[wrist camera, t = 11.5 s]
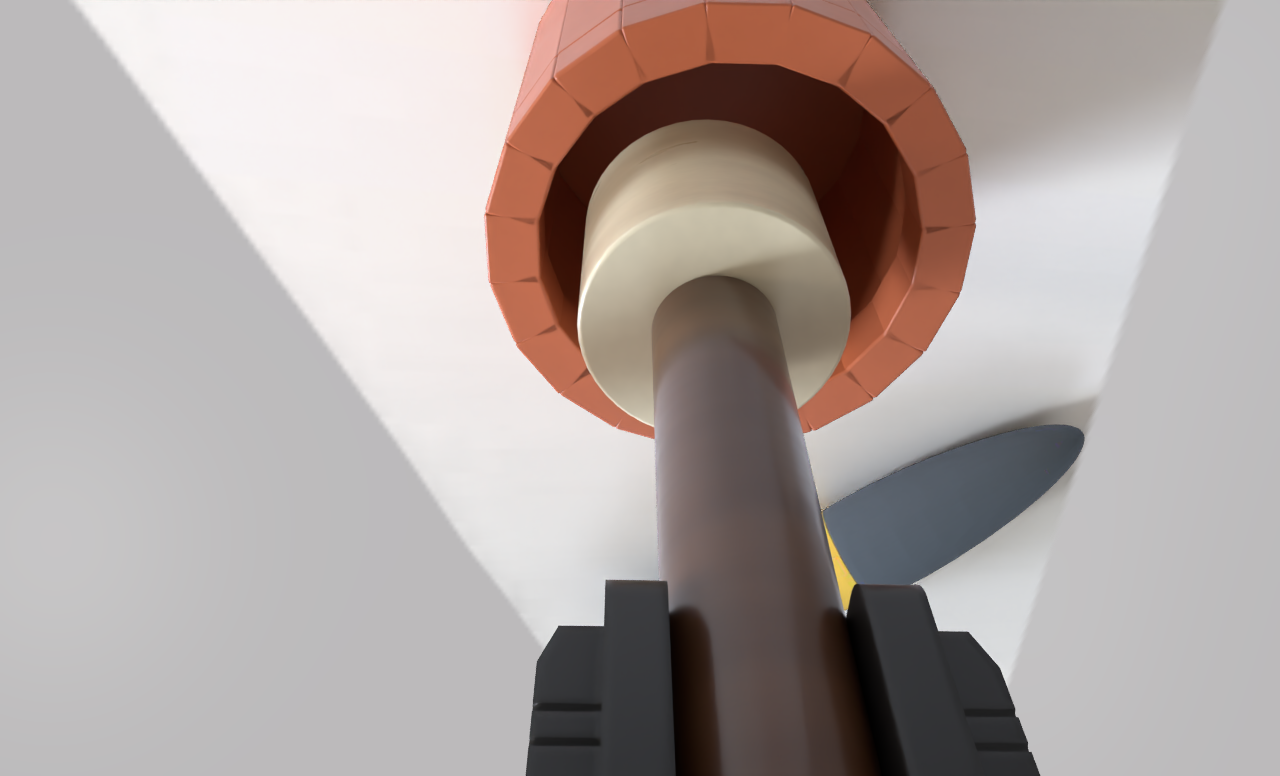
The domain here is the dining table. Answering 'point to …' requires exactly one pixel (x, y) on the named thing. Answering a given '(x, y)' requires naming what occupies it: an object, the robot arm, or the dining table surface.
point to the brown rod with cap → (731, 437)
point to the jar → (762, 100)
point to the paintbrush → (943, 505)
